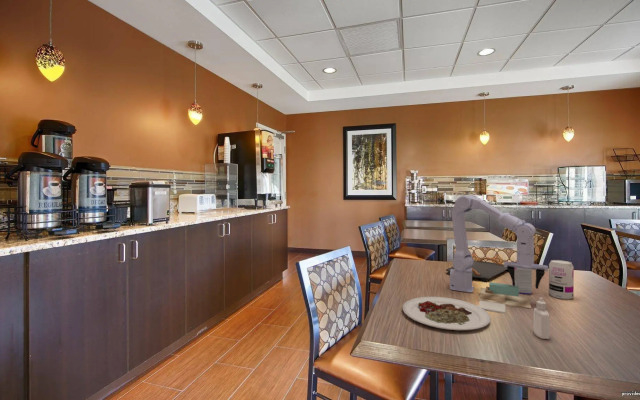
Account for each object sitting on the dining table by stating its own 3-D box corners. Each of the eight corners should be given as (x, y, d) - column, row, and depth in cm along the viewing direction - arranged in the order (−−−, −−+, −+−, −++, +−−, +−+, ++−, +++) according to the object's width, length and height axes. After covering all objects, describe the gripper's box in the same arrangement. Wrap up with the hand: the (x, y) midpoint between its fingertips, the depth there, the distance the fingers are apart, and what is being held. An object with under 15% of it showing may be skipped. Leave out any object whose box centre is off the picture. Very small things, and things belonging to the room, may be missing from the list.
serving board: (486, 284, 147) (486, 272, 146) (441, 275, 164) (441, 264, 164) (513, 270, 171) (513, 259, 171) (472, 263, 189) (472, 254, 189)
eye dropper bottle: (531, 336, 93) (531, 298, 93) (533, 330, 98) (533, 294, 97) (549, 341, 91) (549, 302, 90) (550, 334, 95) (550, 297, 94)
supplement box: (532, 294, 131) (532, 268, 130) (517, 293, 132) (517, 268, 131) (526, 290, 136) (525, 265, 136) (511, 289, 137) (511, 265, 137)
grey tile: (478, 309, 116) (478, 307, 116) (479, 301, 123) (479, 300, 123) (505, 313, 111) (505, 312, 111) (505, 305, 119) (505, 304, 119)
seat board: (478, 300, 124) (478, 291, 124) (480, 292, 135) (480, 283, 135) (531, 308, 115) (531, 299, 115) (528, 299, 125) (528, 290, 125)
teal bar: (489, 292, 126) (489, 284, 126) (489, 290, 129) (489, 282, 129) (518, 296, 121) (518, 288, 120) (518, 294, 124) (518, 285, 124)
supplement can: (569, 294, 130) (569, 260, 129) (576, 301, 122) (576, 265, 122) (546, 292, 133) (546, 259, 133) (552, 298, 125) (552, 263, 125)
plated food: (491, 343, 91) (491, 332, 90) (393, 323, 105) (393, 313, 105) (490, 308, 117) (490, 300, 117) (412, 296, 131) (411, 289, 131)
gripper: (504, 253, 121) (504, 286, 121) (549, 257, 113) (548, 292, 114) (504, 250, 127) (504, 281, 127) (546, 253, 119) (546, 287, 120)
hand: (525, 286), depth 121 cm, fingers open, 7 cm apart
